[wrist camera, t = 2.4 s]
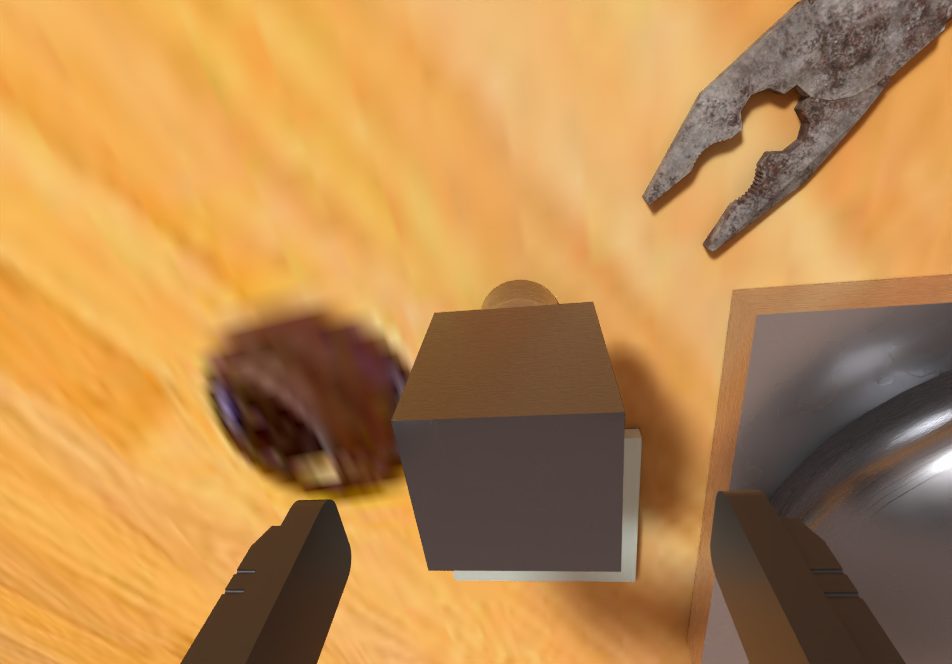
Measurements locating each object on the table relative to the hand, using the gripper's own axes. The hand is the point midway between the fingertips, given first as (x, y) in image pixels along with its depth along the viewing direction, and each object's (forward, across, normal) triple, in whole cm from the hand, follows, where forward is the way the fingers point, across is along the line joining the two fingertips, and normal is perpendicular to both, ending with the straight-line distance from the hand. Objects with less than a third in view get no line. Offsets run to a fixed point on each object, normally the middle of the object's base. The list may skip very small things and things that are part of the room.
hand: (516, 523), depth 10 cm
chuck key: (+9, 0, -1) cm, 9 cm away
